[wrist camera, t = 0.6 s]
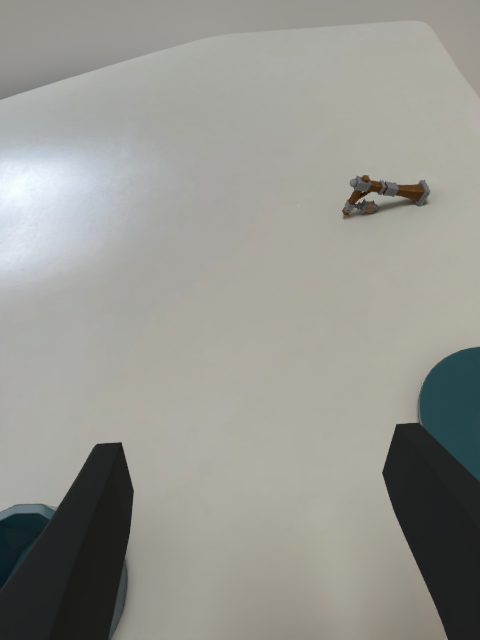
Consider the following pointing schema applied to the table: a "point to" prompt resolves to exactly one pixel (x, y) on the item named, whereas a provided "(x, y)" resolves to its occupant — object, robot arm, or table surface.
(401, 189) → the wooden post with brackets
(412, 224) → the table surface
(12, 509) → the tin
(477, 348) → the lid
